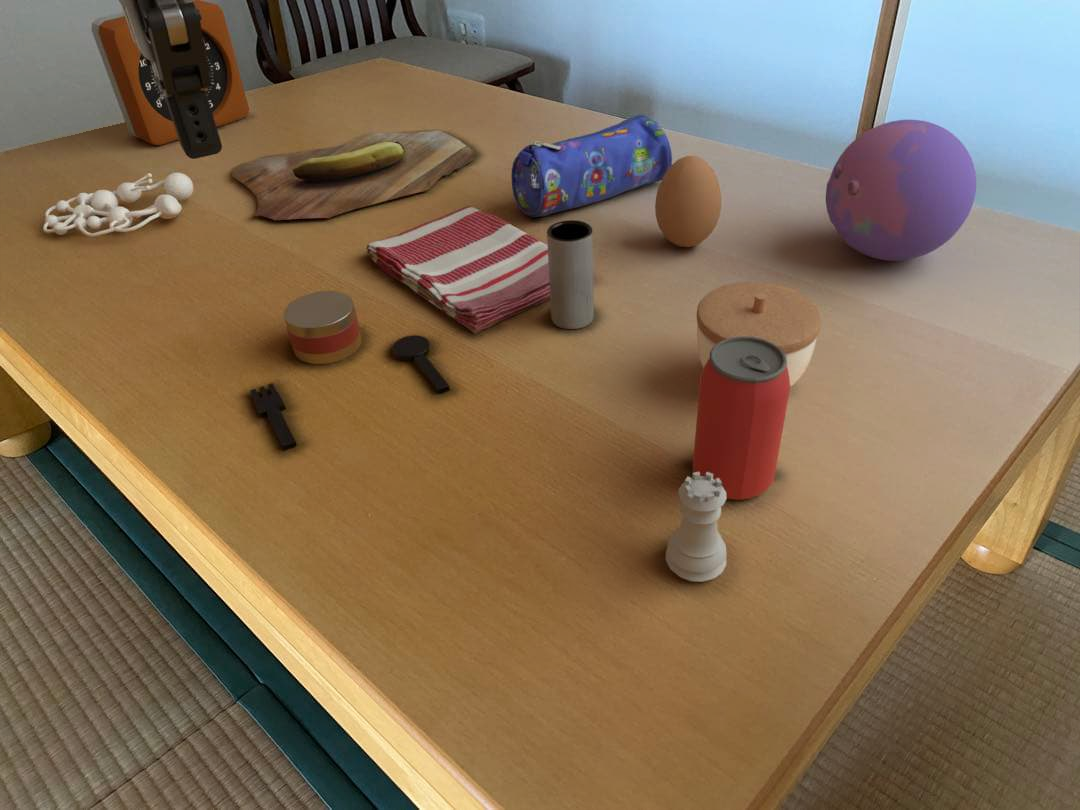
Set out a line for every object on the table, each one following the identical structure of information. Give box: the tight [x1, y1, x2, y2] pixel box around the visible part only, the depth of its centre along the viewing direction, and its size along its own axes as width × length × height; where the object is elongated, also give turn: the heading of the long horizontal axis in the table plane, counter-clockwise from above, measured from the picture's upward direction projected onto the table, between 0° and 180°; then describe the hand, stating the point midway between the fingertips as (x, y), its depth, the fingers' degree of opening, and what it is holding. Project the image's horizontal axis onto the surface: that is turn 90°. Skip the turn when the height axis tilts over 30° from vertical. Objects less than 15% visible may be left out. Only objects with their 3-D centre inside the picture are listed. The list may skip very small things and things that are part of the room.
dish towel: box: [365, 205, 550, 334], centre depth 96 cm, size 17×23×3 cm
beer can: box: [692, 336, 791, 501], centre depth 64 cm, size 7×7×12 cm
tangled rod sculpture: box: [42, 172, 194, 238], centre depth 111 cm, size 19×14×4 cm
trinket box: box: [696, 281, 822, 388], centre depth 74 cm, size 11×11×9 cm
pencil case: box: [511, 114, 673, 218], centre depth 107 cm, size 22×9×10 cm, turn 120°
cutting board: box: [231, 129, 477, 221], centre depth 120 cm, size 35×27×4 cm
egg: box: [654, 155, 722, 248], centre depth 95 cm, size 8×8×11 cm
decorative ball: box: [825, 119, 977, 262], centre depth 90 cm, size 15×15×15 cm
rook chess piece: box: [665, 472, 728, 583], centre depth 58 cm, size 4×4×8 cm
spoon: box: [392, 334, 451, 395], centre depth 82 cm, size 10×4×1 cm, turn 29°
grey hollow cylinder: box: [546, 219, 595, 330], centre depth 84 cm, size 4×4×10 cm
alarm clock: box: [91, 0, 250, 147], centre depth 134 cm, size 18×9×21 cm, turn 136°
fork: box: [249, 382, 298, 451], centre depth 76 cm, size 10×2×1 cm, turn 29°
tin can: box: [283, 290, 363, 365], centre depth 84 cm, size 7×7×4 cm
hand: (203, 152), depth 51 cm, fingers closed
